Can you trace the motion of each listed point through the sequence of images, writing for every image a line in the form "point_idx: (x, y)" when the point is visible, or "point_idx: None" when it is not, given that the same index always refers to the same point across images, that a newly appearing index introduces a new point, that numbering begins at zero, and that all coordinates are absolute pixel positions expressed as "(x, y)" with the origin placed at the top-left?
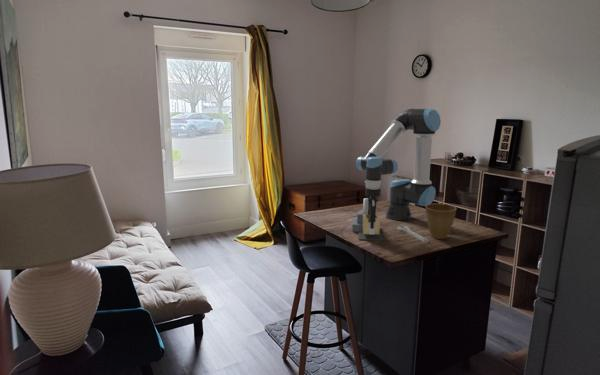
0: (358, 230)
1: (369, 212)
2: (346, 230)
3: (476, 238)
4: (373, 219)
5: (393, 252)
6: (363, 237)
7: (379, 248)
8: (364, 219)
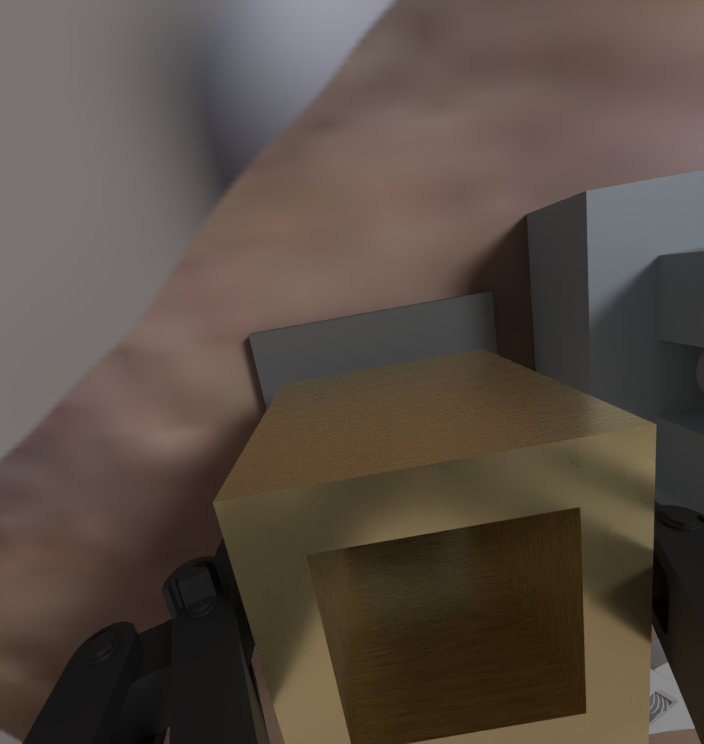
0: (540, 288)
1: (691, 623)
2: (565, 129)
3: None
4: (117, 737)
5: (53, 640)
6: (314, 373)
7: (94, 536)
8: (229, 496)
